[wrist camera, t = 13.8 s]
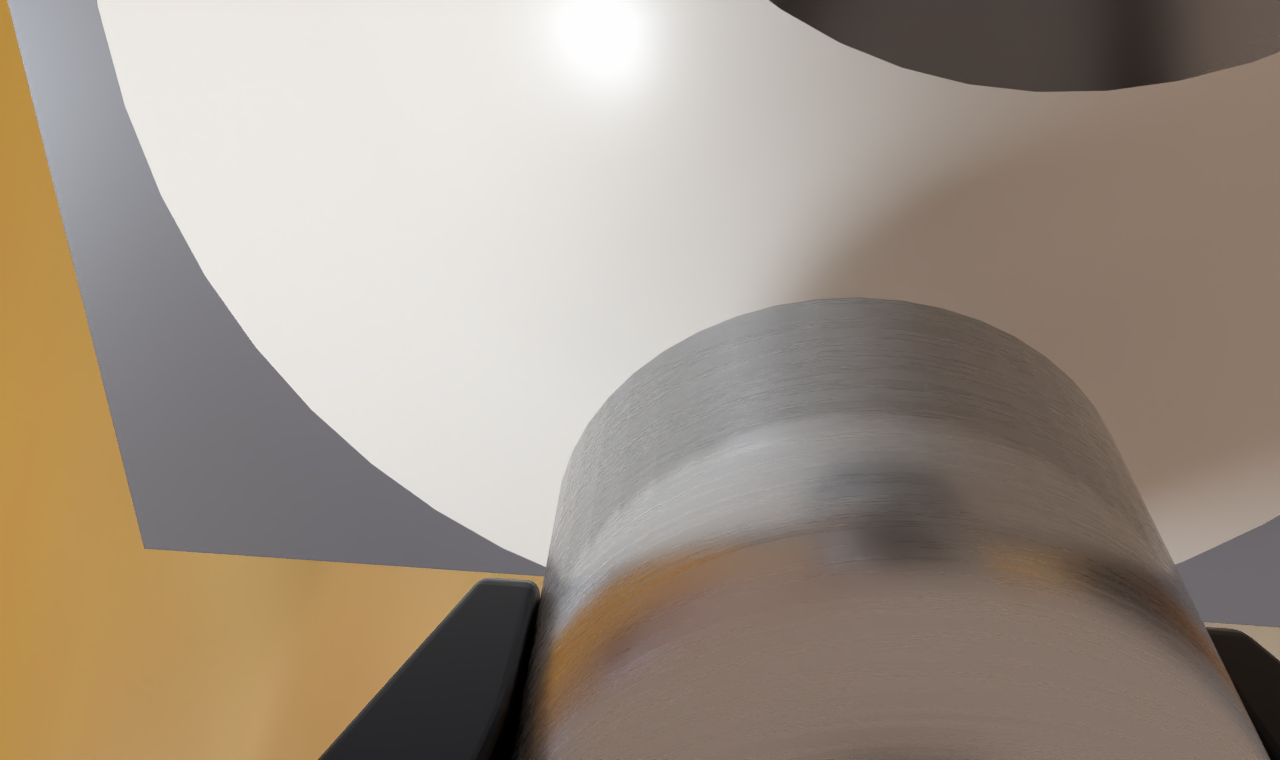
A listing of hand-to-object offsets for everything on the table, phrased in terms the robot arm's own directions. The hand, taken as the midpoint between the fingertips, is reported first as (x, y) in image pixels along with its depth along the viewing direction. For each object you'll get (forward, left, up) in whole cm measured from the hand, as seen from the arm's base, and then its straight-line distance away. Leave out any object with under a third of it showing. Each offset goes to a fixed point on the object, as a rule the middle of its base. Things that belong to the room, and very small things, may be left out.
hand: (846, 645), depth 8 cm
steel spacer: (0, 0, -1) cm, 1 cm away
